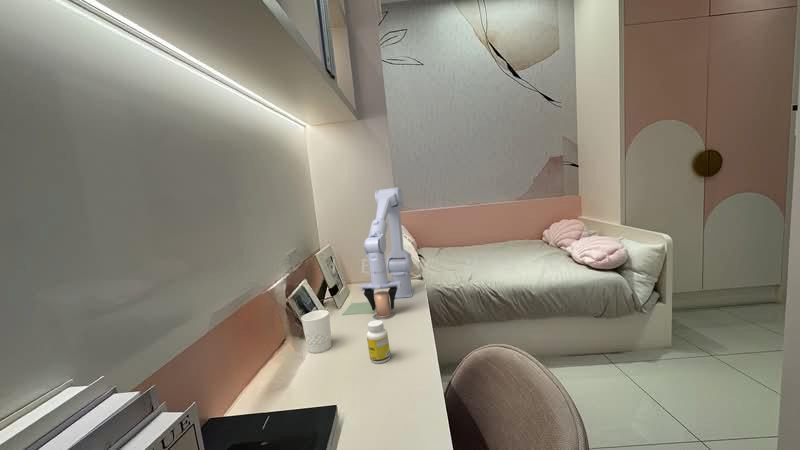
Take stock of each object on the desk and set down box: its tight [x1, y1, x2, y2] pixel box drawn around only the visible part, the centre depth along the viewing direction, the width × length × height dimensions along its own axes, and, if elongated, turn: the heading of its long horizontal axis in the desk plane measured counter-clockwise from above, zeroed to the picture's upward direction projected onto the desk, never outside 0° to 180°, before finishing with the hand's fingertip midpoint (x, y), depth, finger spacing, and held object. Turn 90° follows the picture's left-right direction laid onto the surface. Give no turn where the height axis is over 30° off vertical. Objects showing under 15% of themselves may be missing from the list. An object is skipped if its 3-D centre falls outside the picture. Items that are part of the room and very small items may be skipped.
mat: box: [342, 301, 376, 316], centre depth 133 cm, size 12×12×1 cm
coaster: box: [372, 311, 396, 321], centre depth 122 cm, size 8×8×1 cm
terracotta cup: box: [374, 290, 392, 318], centre depth 122 cm, size 5×5×8 cm
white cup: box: [300, 309, 333, 354], centre depth 102 cm, size 8×8×10 cm
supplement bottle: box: [366, 319, 391, 364], centre depth 90 cm, size 5×5×10 cm
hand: (383, 308), depth 122 cm, fingers open, 6 cm apart
